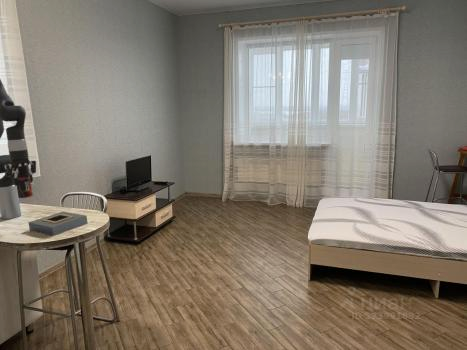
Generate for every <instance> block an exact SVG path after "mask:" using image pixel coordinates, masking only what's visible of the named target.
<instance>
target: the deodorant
mask: <svg viewBox="0 0 467 350" xmlns="http://www.w3.org/2000/svg"><path fill="white" fill-rule="evenodd" d="M28 167H29V166H28V165H26V166H20V167H16V169H17V168H18V175H17V178H18V184H19V185H18V186H17V192H18V198H19V199H25V198H31V197H33V195H34V194H33V188H32V183H31V181H30V175H29V169H28ZM16 169H14V171H16Z"/></svg>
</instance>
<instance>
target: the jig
mask: <svg viewBox="0 0 467 350" xmlns="http://www.w3.org/2000/svg"><path fill="white" fill-rule="evenodd" d="M27 223H28V228H29V231H31V232H36V233H38V234H44V235H48V236H53V237H55V236H57V235H60V234H63V233H65V231H66V232H68V231H70V230H73V228H74V229H76V228H79V227H82V226H84V225H88V217H87V215H86V214H85V215H84V214H80V213H73V212H69V211H60V212H58V213H54V214H51V215H49V216H43V217H41V218H38V219H35V220H32V221H31V220H30V221H29V222H27Z"/></svg>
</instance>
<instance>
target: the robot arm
mask: <svg viewBox="0 0 467 350" xmlns="http://www.w3.org/2000/svg"><path fill="white" fill-rule="evenodd" d="M26 114H27V113H26V109H25V108H24V107H23V106H22V105H15V103H14V101H13V99H12V98H11V97H10V95H9V94H8V93H7V90H6V88H5V86H4V83H3V82H2V79H1V78H0V139H1V138H2V136H3V134H4V131H5V132H6V139H7V149H8V154H2V155H0V174H1V175H2V174H4V175H3V176H2V177H0V217H1V219H2V220H10V219H15V218H18V217H21V216H22V210H21V204H20V198H19V197H18V191H17V186H18V185H19V184H18V178H17V175H18V168H17V169H16V167H20V166H26V165H28V169H29V175H30V181H31V184H32V183H33V182H34V177H33V174H36V173H37V161H36V160H30V159H29V158H30V157H29V151H28V145H27V140H26V134H25V121H26V116H27V115H26ZM4 122H6V123H7V122H16V123H15V124H14V125H12V126H8V127H7V128H5V124H4ZM14 169H16V171H14Z"/></svg>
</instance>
